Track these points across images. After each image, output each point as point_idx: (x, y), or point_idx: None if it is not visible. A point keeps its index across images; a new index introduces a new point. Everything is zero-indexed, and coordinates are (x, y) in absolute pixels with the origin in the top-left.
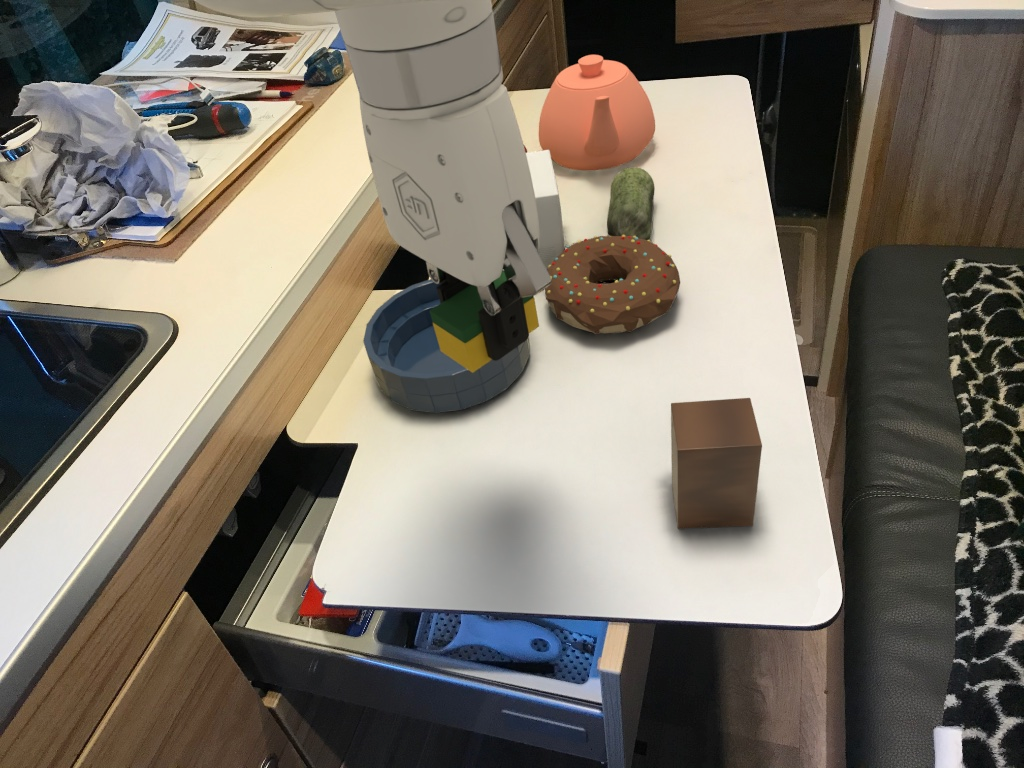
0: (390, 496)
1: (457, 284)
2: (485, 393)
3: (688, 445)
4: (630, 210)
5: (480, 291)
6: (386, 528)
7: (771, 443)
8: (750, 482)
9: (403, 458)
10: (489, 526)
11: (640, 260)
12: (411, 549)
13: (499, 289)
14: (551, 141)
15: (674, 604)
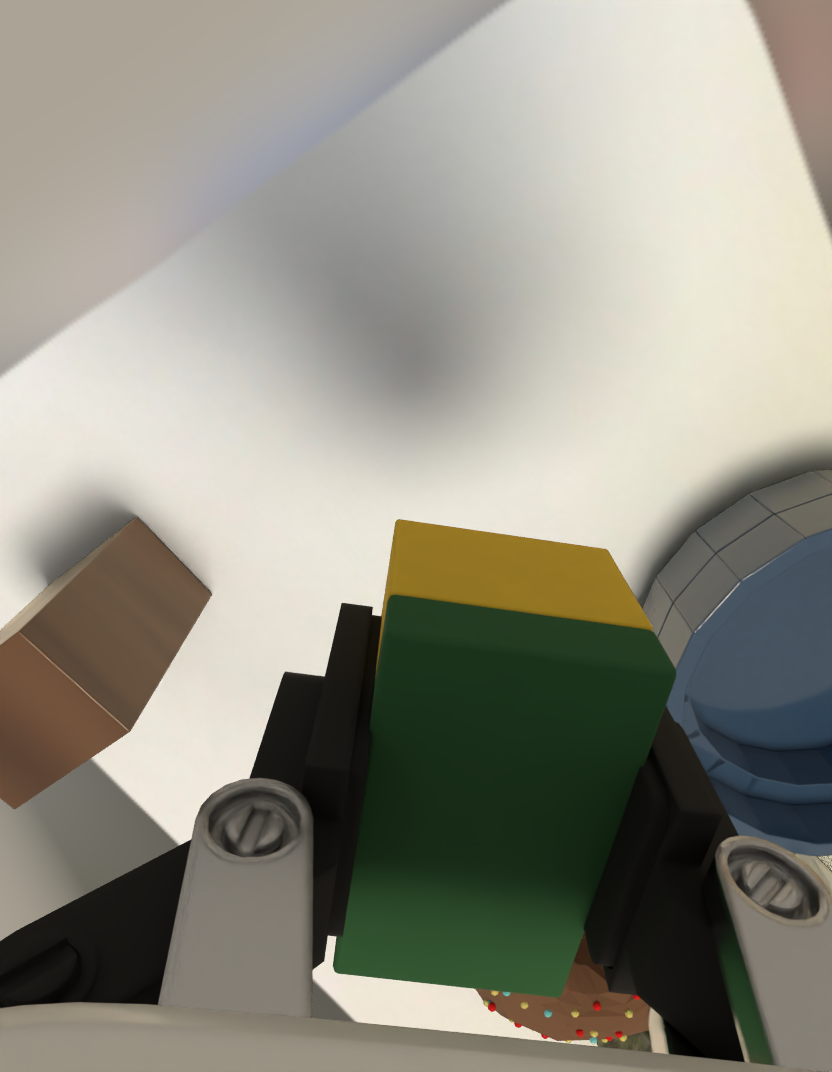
0: (703, 246)
1: (630, 870)
2: (662, 588)
3: (11, 652)
4: None
5: (279, 911)
6: (651, 166)
7: (135, 737)
8: None
9: (745, 352)
10: (439, 317)
11: (548, 997)
12: (555, 157)
13: (136, 974)
14: None
15: (35, 380)
